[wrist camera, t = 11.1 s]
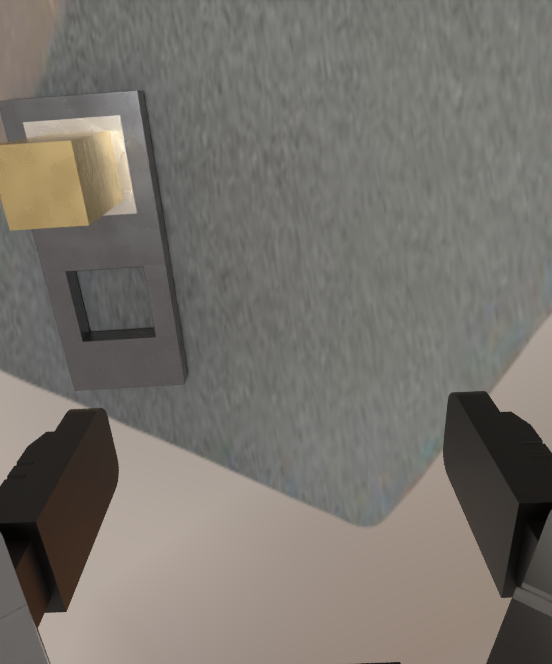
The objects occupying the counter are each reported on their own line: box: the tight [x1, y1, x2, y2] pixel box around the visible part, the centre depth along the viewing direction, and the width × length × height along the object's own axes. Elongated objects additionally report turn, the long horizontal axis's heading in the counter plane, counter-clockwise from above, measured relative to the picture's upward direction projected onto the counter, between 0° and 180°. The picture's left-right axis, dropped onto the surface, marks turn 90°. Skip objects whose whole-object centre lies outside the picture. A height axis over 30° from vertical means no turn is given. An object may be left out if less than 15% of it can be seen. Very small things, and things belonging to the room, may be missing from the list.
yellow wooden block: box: [0, 131, 123, 230], centre depth 35 cm, size 5×5×8 cm
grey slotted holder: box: [0, 91, 188, 391], centre depth 43 cm, size 24×10×2 cm, turn 4°
